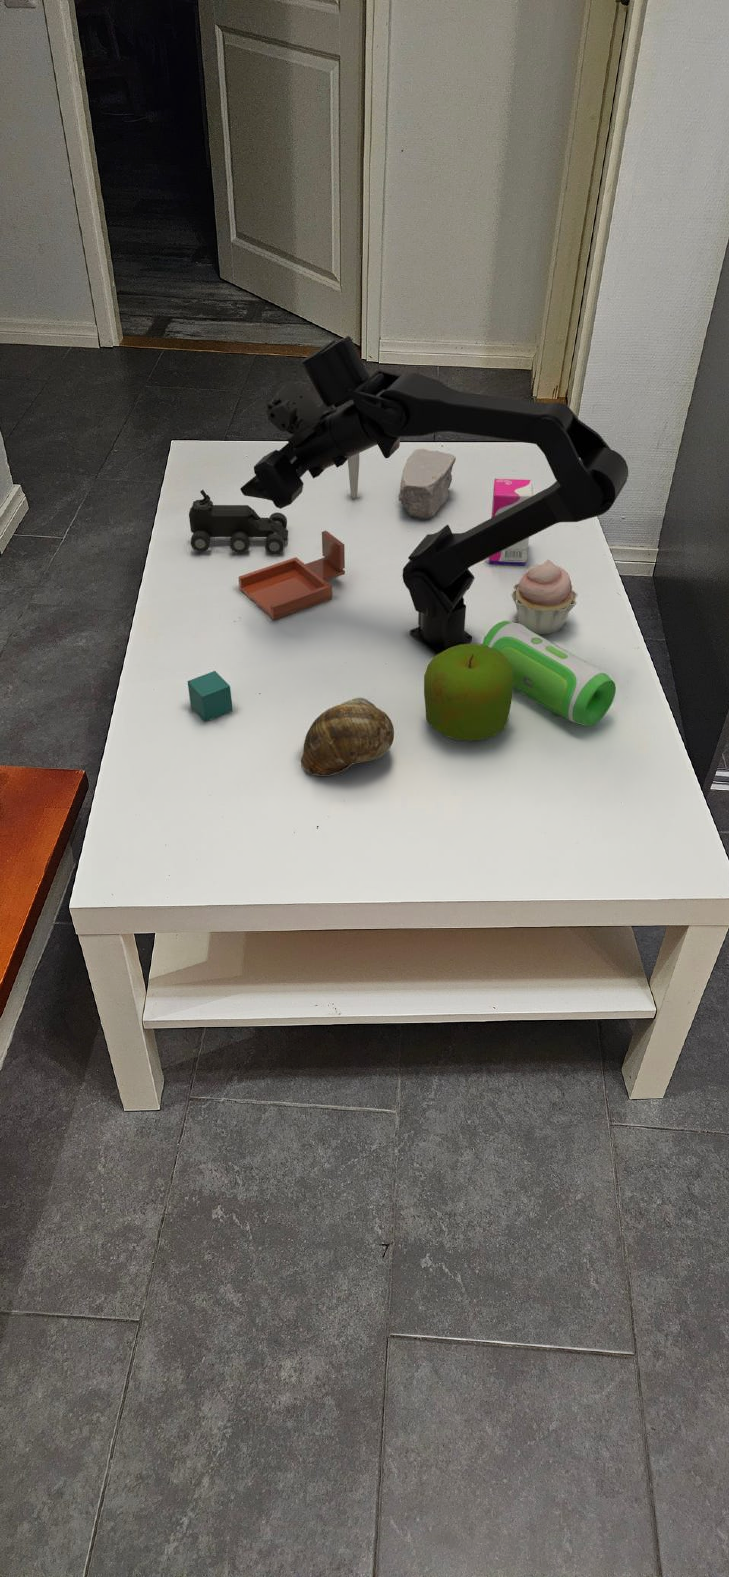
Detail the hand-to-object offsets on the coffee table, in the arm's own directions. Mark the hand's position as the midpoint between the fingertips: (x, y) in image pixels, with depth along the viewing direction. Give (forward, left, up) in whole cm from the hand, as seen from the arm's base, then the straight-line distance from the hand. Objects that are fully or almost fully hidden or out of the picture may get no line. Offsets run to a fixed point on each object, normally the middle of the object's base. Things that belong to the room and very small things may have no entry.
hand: (258, 476), depth 146 cm
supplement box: (-12, -36, -19) cm, 42 cm away
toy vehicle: (+15, -4, -19) cm, 25 cm away
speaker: (-42, -17, -19) cm, 49 cm away
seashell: (-38, +11, -19) cm, 43 cm away
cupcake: (-29, -28, -19) cm, 44 cm away
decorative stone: (+9, -36, -19) cm, 42 cm away
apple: (-41, -5, -19) cm, 45 cm away
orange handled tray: (-2, -4, -19) cm, 19 cm away
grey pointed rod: (+17, -27, -19) cm, 37 cm away
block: (-20, +20, -19) cm, 33 cm away
